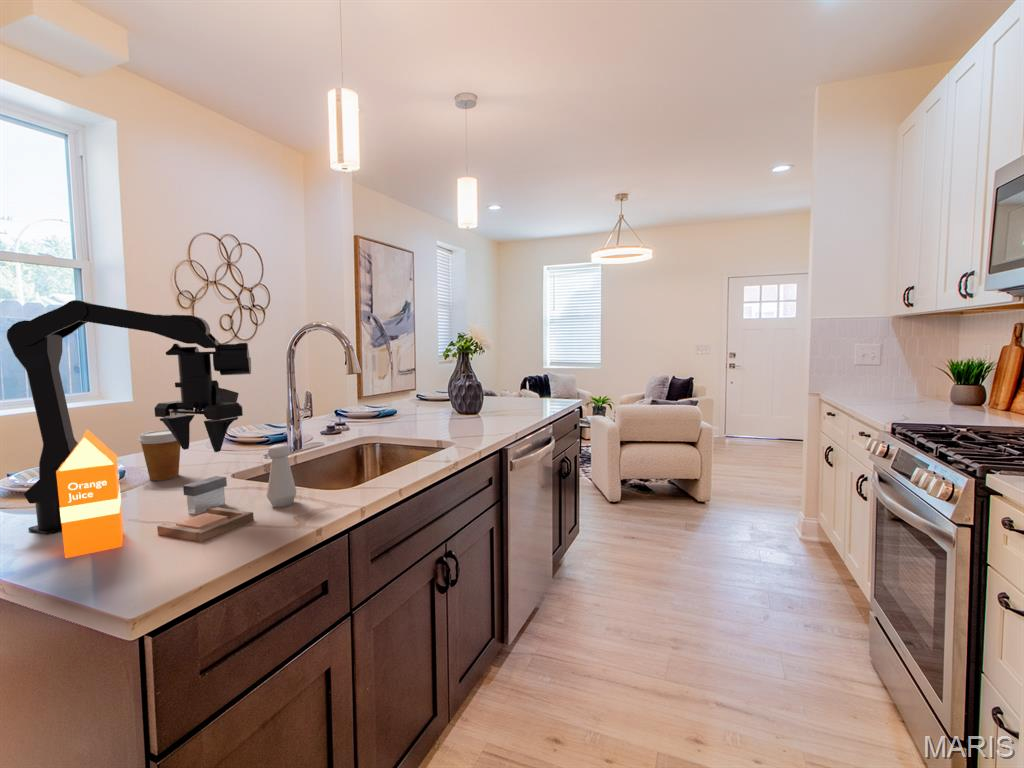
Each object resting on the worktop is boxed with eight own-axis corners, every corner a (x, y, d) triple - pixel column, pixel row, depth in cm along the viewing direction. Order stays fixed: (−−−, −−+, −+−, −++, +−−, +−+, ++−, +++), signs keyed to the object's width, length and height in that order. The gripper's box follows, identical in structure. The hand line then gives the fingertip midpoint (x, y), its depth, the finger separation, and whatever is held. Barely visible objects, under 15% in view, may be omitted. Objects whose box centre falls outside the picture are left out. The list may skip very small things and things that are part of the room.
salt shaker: (285, 509, 106) (281, 448, 105) (261, 508, 107) (257, 447, 106) (302, 500, 111) (299, 442, 110) (279, 499, 113) (275, 442, 111)
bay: (157, 534, 93) (157, 526, 93) (212, 514, 103) (212, 506, 103) (201, 541, 89) (200, 533, 89) (253, 520, 100) (253, 512, 99)
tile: (176, 532, 95) (175, 523, 95) (206, 521, 101) (205, 512, 101) (199, 536, 93) (198, 527, 93) (227, 525, 99) (227, 516, 98)
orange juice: (63, 558, 83) (51, 439, 82) (70, 541, 90) (58, 431, 89) (123, 546, 88) (113, 433, 86) (124, 531, 95) (115, 426, 93)
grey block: (185, 513, 104) (183, 485, 104) (218, 502, 111) (216, 475, 111) (195, 515, 103) (193, 486, 103) (228, 503, 110) (226, 477, 110)
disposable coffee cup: (169, 482, 129) (166, 435, 127) (132, 482, 129) (128, 436, 128) (193, 472, 138) (190, 429, 137) (159, 472, 138) (155, 429, 137)
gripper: (261, 374, 109) (266, 445, 111) (199, 373, 116) (204, 440, 117) (215, 378, 99) (221, 456, 100) (149, 377, 105) (156, 451, 107)
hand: (201, 450), depth 106 cm, fingers open, 9 cm apart
